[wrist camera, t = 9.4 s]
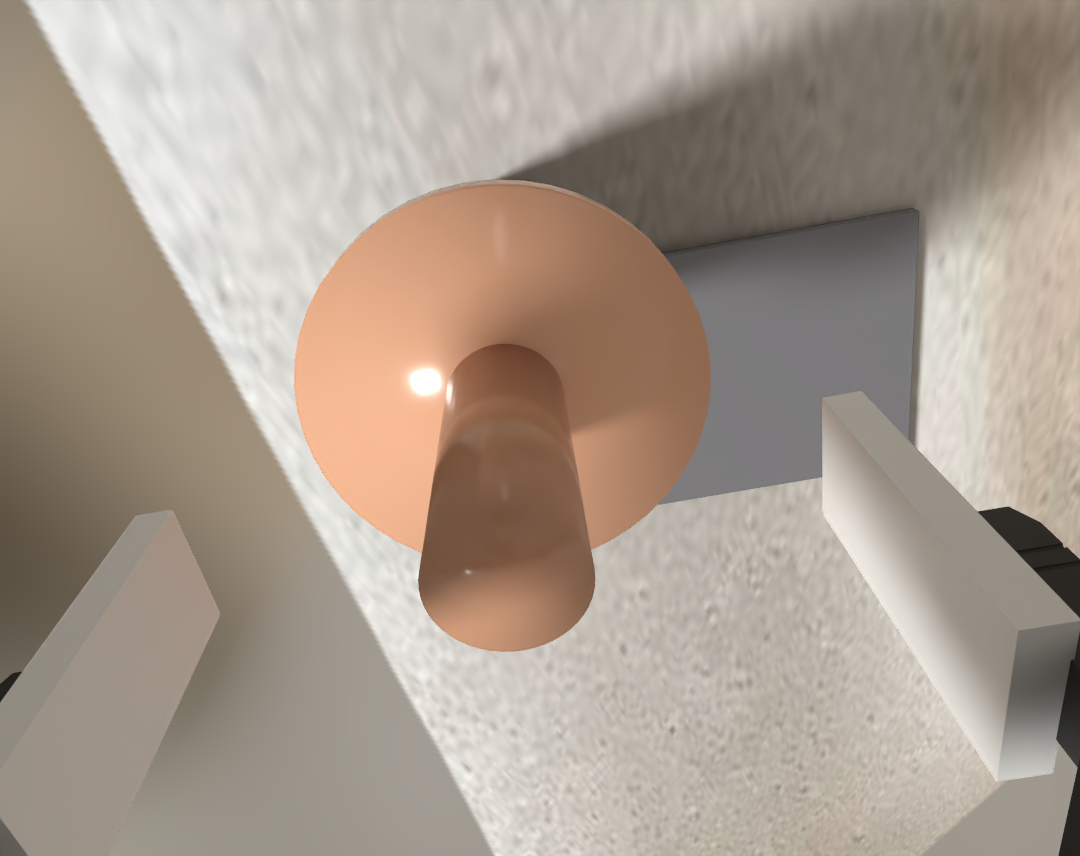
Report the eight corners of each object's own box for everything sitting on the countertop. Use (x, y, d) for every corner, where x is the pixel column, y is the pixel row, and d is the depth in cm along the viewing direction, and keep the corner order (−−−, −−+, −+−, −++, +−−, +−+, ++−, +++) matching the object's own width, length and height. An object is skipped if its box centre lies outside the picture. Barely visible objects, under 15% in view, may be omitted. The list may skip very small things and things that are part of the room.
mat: (626, 259, 36) (628, 263, 36) (913, 208, 36) (919, 210, 35) (656, 498, 42) (658, 504, 42) (902, 457, 42) (907, 462, 41)
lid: (245, 223, 20) (77, 353, 12) (684, 141, 20) (810, 221, 12) (364, 574, 25) (300, 831, 17) (715, 515, 25) (818, 751, 17)
